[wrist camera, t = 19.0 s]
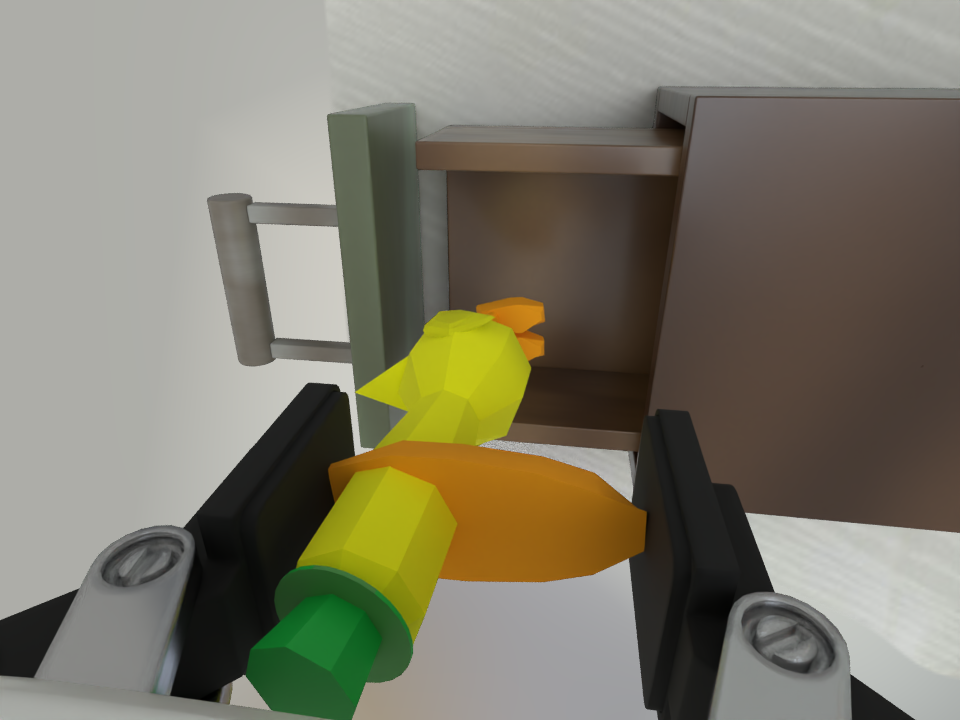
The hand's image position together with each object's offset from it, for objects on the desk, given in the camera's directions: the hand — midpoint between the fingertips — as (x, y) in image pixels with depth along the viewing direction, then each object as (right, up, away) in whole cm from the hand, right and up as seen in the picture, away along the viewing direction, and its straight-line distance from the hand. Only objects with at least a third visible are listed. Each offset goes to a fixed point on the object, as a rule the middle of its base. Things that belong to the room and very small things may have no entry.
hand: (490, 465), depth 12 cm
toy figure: (+1, +3, +6) cm, 7 cm away
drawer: (0, +6, +12) cm, 14 cm away
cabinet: (+13, +6, +12) cm, 19 cm away
